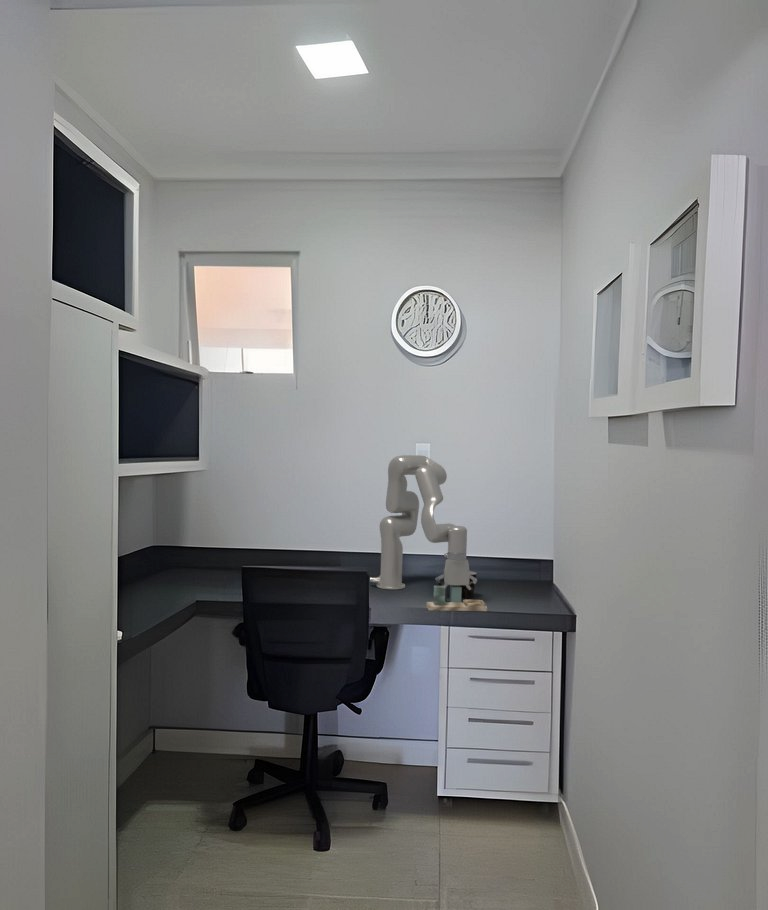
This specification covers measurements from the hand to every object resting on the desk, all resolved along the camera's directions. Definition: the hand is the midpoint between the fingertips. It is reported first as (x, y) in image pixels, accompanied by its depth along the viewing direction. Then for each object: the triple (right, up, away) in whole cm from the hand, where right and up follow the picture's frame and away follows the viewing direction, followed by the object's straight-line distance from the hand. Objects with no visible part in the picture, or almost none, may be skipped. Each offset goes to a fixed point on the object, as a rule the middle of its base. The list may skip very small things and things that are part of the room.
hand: (455, 598), depth 327 cm
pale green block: (0, -2, 0) cm, 2 cm away
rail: (-1, -2, -9) cm, 9 cm away
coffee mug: (+4, -2, +14) cm, 15 cm away
